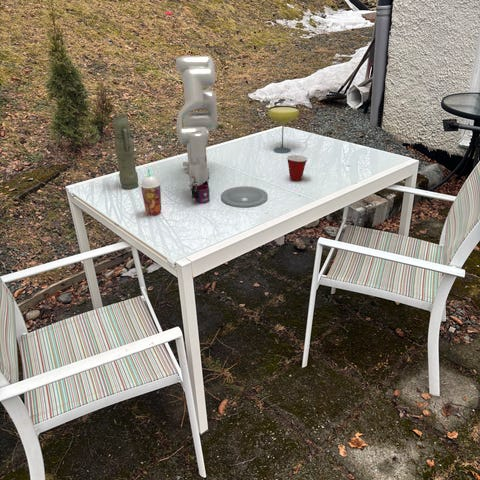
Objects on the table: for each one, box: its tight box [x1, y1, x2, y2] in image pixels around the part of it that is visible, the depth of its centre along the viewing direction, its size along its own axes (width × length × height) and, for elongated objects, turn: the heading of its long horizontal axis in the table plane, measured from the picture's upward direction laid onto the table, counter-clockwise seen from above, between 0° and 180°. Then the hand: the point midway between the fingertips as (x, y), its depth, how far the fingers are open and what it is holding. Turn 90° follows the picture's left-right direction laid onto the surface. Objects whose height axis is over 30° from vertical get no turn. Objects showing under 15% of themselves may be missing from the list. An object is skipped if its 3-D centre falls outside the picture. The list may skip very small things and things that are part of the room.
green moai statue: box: [112, 114, 140, 191], centre depth 213 cm, size 9×12×35 cm
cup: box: [194, 184, 211, 205], centre depth 205 cm, size 7×10×7 cm
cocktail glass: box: [267, 105, 300, 154], centre depth 263 cm, size 18×18×25 cm
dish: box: [220, 185, 269, 209], centre depth 207 cm, size 22×22×1 cm
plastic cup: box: [286, 154, 309, 182], centre depth 225 cm, size 11×11×12 cm
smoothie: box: [140, 169, 162, 216], centre depth 190 cm, size 8×8×20 cm
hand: (200, 194), depth 205 cm, fingers open, 9 cm apart
